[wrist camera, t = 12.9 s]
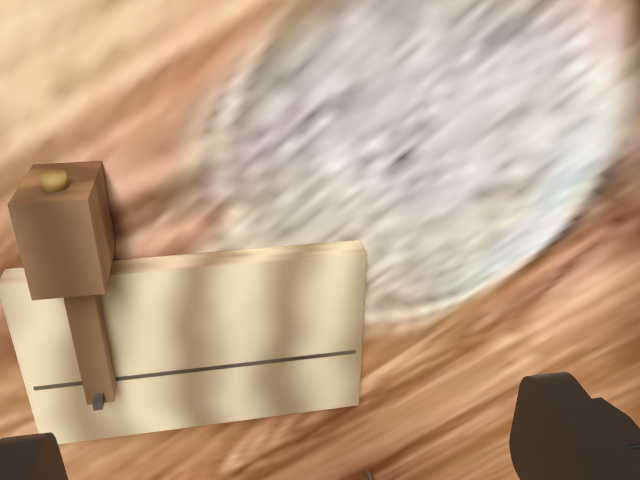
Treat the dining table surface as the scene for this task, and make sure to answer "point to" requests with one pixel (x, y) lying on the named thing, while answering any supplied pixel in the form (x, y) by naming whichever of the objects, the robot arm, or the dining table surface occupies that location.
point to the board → (201, 340)
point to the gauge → (71, 258)
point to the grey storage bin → (370, 475)
